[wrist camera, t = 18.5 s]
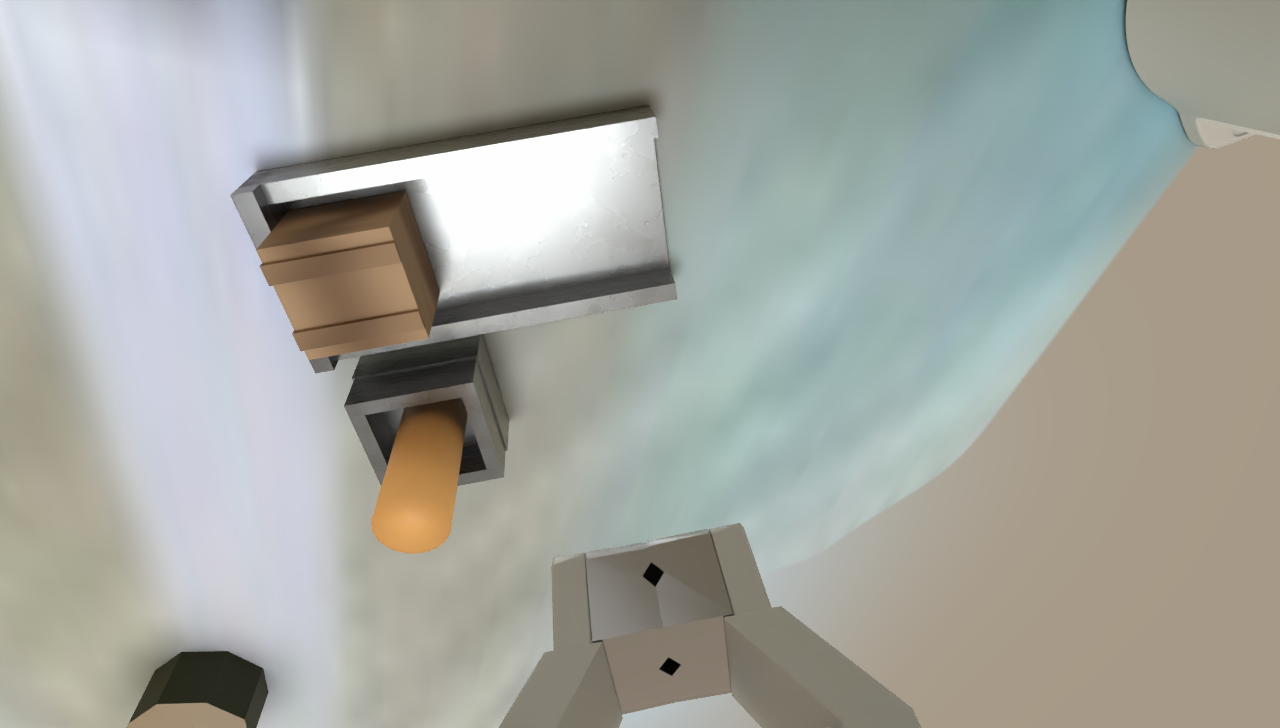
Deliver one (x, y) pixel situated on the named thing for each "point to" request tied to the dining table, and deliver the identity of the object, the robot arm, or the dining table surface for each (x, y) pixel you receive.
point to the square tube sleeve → (431, 401)
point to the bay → (506, 219)
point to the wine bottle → (203, 693)
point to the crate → (352, 275)
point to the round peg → (421, 478)
